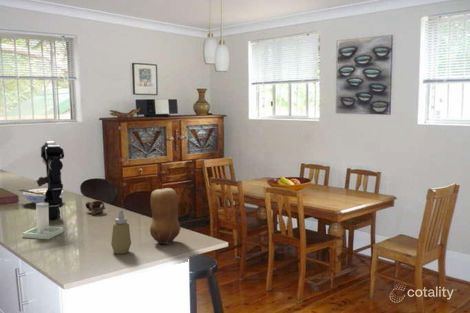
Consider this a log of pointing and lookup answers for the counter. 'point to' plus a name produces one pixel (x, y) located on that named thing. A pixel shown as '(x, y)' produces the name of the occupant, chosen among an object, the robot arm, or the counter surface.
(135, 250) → the counter surface
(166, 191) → the butternut squash
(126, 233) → the squeeze bottle
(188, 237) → the counter surface
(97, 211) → the pottery mug
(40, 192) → the ramen bowl
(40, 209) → the cylinder
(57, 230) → the tray
